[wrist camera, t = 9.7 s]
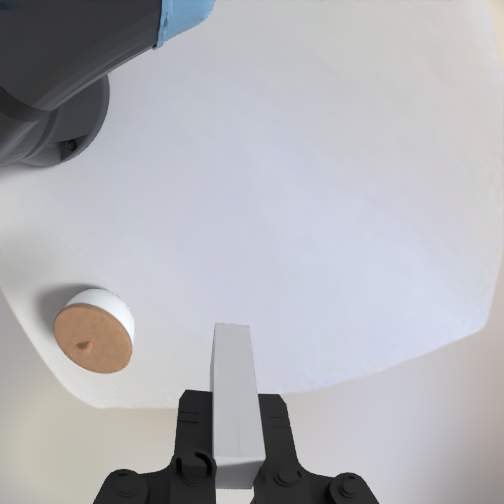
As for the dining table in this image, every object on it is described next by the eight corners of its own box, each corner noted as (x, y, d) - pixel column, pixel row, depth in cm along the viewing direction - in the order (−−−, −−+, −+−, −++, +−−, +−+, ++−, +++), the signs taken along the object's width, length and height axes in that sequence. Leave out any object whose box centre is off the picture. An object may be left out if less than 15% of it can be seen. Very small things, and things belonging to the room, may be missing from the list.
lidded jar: (65, 312, 40) (40, 352, 32) (90, 260, 37) (61, 298, 29) (124, 349, 44) (109, 394, 35) (156, 304, 41) (143, 350, 32)
